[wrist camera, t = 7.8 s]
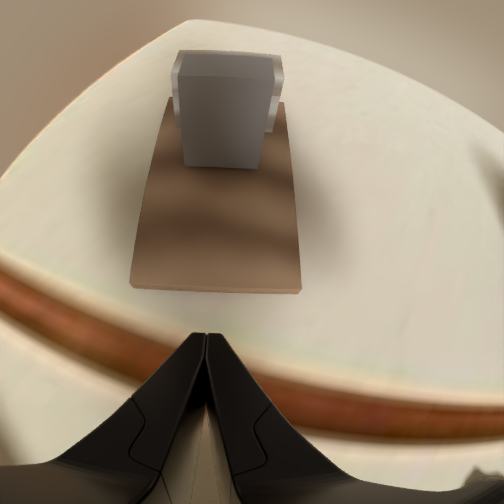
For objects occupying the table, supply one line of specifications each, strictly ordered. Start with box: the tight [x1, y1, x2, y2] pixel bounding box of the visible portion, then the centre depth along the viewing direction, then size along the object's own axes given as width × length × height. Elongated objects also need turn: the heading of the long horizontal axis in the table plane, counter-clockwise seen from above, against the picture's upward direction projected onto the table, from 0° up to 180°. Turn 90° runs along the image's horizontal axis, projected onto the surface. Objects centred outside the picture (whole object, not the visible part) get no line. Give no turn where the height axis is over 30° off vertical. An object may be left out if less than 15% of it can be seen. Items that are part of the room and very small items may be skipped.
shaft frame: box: [129, 50, 302, 294], centre depth 23 cm, size 20×12×8 cm, turn 0°
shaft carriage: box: [177, 54, 275, 169], centre depth 23 cm, size 13×6×9 cm, turn 0°
